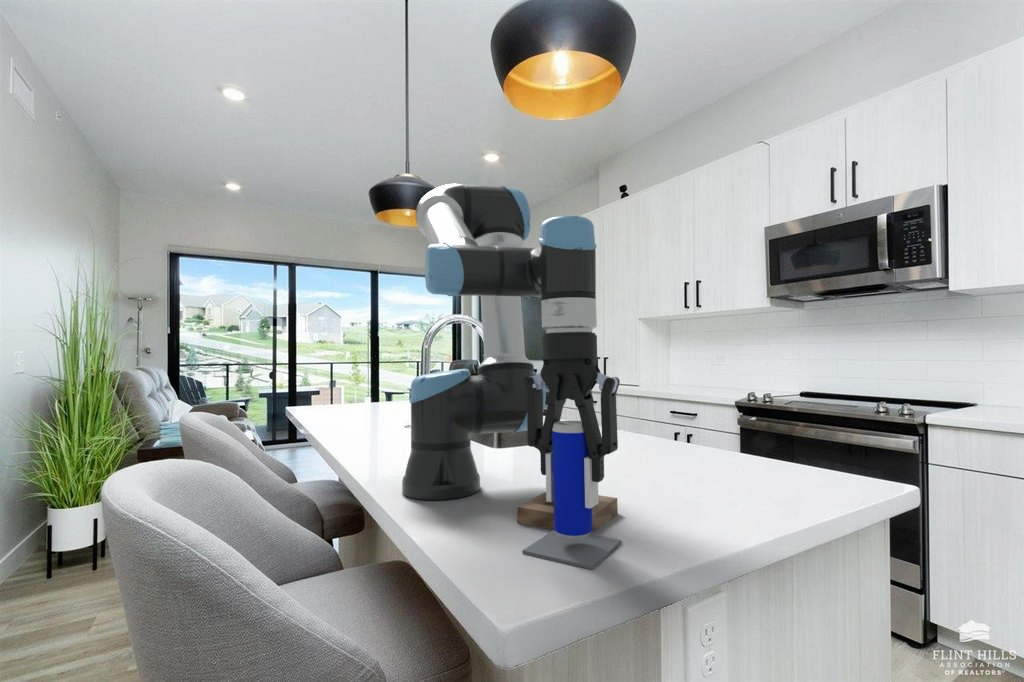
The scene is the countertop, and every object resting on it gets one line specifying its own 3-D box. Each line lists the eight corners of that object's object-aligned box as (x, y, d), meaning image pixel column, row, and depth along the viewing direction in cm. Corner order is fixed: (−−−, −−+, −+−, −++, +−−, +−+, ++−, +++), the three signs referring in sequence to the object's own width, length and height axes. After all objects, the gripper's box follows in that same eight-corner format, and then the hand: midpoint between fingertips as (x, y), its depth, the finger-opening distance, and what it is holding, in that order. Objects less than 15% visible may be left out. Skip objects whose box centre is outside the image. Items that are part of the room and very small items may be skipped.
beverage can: (570, 524, 72) (568, 419, 72) (600, 533, 68) (597, 422, 69) (546, 534, 68) (544, 423, 69) (576, 543, 65) (573, 426, 65)
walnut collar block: (517, 522, 79) (517, 506, 79) (552, 502, 89) (552, 488, 89) (588, 536, 72) (587, 518, 72) (617, 513, 83) (617, 498, 83)
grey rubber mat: (522, 553, 67) (522, 550, 67) (557, 530, 75) (557, 527, 75) (592, 569, 61) (592, 566, 61) (621, 542, 70) (621, 539, 70)
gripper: (499, 333, 71) (501, 499, 70) (623, 328, 61) (627, 521, 60) (526, 334, 77) (528, 487, 76) (642, 329, 67) (646, 504, 67)
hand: (572, 501), depth 68 cm, fingers closed on beverage can, 5 cm apart
